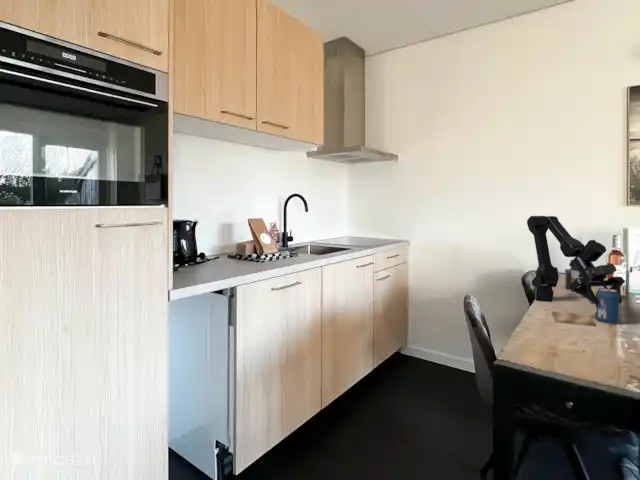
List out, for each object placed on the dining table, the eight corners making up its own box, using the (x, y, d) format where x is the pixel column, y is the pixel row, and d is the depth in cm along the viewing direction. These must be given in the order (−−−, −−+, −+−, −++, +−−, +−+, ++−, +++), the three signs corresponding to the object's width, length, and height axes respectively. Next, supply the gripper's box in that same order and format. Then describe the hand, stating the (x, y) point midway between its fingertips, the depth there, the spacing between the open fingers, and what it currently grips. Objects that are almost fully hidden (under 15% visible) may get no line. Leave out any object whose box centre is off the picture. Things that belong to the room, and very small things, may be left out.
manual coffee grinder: (592, 291, 188) (593, 255, 187) (566, 289, 194) (567, 254, 192) (587, 285, 202) (588, 252, 201) (563, 283, 207) (564, 251, 206)
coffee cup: (595, 298, 174) (596, 266, 173) (576, 298, 174) (578, 266, 173) (582, 294, 182) (584, 263, 181) (565, 294, 182) (566, 263, 181)
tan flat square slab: (555, 321, 140) (555, 319, 139) (551, 313, 150) (551, 311, 150) (594, 325, 134) (594, 323, 134) (587, 317, 145) (588, 314, 145)
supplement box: (604, 301, 168) (605, 277, 167) (607, 304, 162) (608, 280, 161) (588, 300, 170) (589, 276, 169) (591, 303, 165) (592, 279, 164)
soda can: (616, 320, 140) (618, 288, 139) (619, 325, 134) (621, 292, 133) (593, 317, 144) (595, 287, 143) (596, 322, 138) (597, 290, 137)
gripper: (576, 257, 141) (599, 292, 131) (621, 255, 142) (648, 290, 132) (560, 274, 149) (580, 308, 139) (603, 272, 151) (627, 306, 141)
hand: (609, 303), depth 138 cm, fingers open, 9 cm apart
